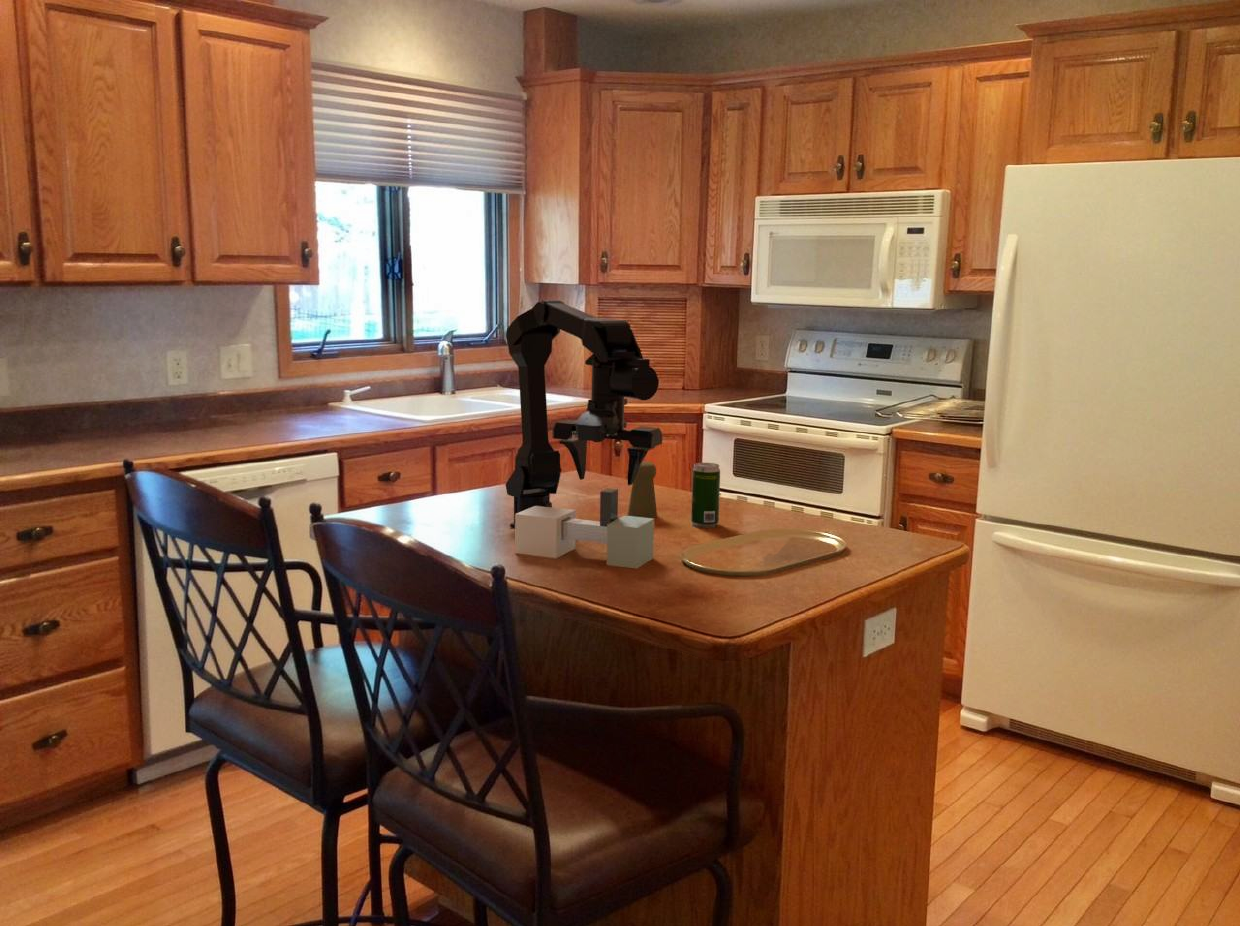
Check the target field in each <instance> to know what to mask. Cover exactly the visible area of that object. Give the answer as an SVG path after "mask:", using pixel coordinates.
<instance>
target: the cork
mask: <svg viewBox="0 0 1240 926" xmlns="http://www.w3.org/2000/svg"><path fill="white" fill-rule="evenodd" d="M656 474H657V468H656V465H655V464H654V463H653V462H648V461H642V463H641V465H640V467H639V470H638V472H637V474H636V476H635V479H634V481H633V483H632V485H631V491H630V492H631V493H630V499H629V503H628V504H629V505H628V512H627V516H634V517H643V518H652V519H655V518H657V517H658V512H657V510H658V509H657V502H656V493H655V483H654V479H655V477H656Z"/></svg>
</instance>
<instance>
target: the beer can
mask: <svg viewBox="0 0 1240 926" xmlns="http://www.w3.org/2000/svg"><path fill="white" fill-rule="evenodd" d="M691 482H692V483H691V486H692V487H691V488H692V489H691V518H690V520H691V523H692V525H693V526H694V527H697V528H706V529H707V528H708V529H709V528H715V527H717V526H718V524H719V519H720V518H719V516H720V492H721V491H720V490H721V489H720V487H721V486H720V484H721V469H720V464H718V463H714V462H696V463H694V464H693V468H692V480H691Z"/></svg>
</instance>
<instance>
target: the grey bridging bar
mask: <svg viewBox="0 0 1240 926" xmlns="http://www.w3.org/2000/svg"><path fill="white" fill-rule="evenodd" d="M599 502H600V503H599V504H600V505H599V521H597V520H590V519H589V520H588V519H580V518H575V519H572V518H566V519H563V520H562V523H561V538H562V539H570V540H575V541H581V542H586V543H587V542H589V543H597V544H605V545H607V524H609V523H611V522H613V521H615V520H617V519H619V511H618V510H619V489H618V488H617V489H616V488H605V489H604V490H601V491H600V497H599Z"/></svg>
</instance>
